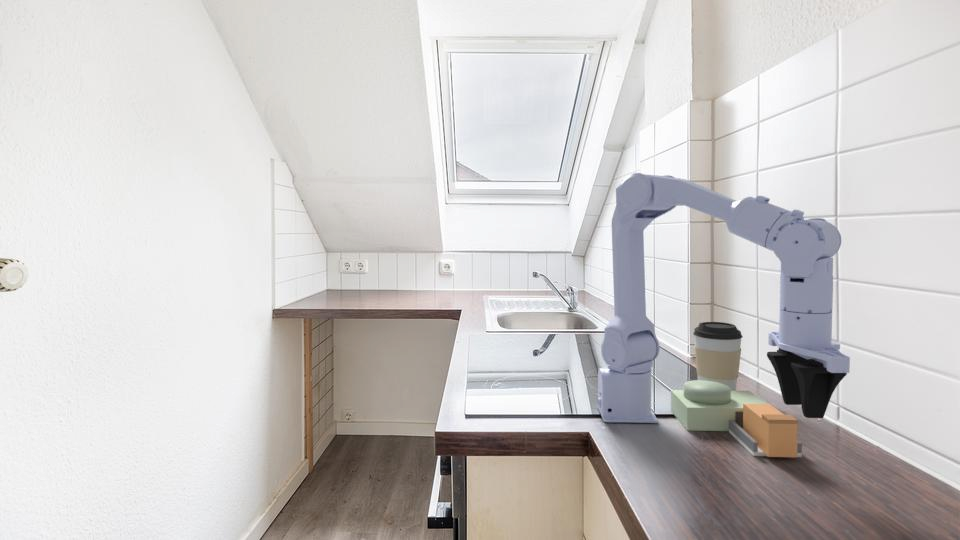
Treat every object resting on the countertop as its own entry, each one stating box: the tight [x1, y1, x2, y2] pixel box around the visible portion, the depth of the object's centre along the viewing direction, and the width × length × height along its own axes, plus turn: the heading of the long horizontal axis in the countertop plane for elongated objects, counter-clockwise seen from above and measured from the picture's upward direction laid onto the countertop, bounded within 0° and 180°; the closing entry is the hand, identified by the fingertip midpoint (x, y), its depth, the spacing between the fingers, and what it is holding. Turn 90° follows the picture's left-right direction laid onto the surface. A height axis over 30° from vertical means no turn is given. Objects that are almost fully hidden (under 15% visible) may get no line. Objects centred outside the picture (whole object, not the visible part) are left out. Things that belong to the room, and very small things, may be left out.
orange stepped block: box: [743, 403, 799, 458], centre depth 71 cm, size 4×8×6 cm, turn 174°
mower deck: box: [670, 379, 803, 458], centre depth 78 cm, size 14×18×6 cm
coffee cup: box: [692, 321, 743, 391], centre depth 95 cm, size 9×9×15 cm
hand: (802, 410), depth 62 cm, fingers open, 4 cm apart
